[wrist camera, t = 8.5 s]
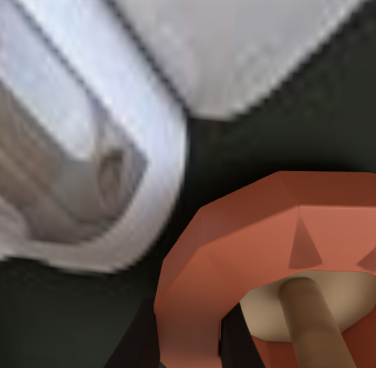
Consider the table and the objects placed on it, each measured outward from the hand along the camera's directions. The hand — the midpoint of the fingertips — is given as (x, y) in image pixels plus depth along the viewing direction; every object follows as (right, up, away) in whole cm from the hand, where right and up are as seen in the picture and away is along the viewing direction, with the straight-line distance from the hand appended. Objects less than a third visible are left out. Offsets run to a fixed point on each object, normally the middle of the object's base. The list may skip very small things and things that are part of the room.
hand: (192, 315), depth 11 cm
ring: (+5, +1, +1) cm, 5 cm away
